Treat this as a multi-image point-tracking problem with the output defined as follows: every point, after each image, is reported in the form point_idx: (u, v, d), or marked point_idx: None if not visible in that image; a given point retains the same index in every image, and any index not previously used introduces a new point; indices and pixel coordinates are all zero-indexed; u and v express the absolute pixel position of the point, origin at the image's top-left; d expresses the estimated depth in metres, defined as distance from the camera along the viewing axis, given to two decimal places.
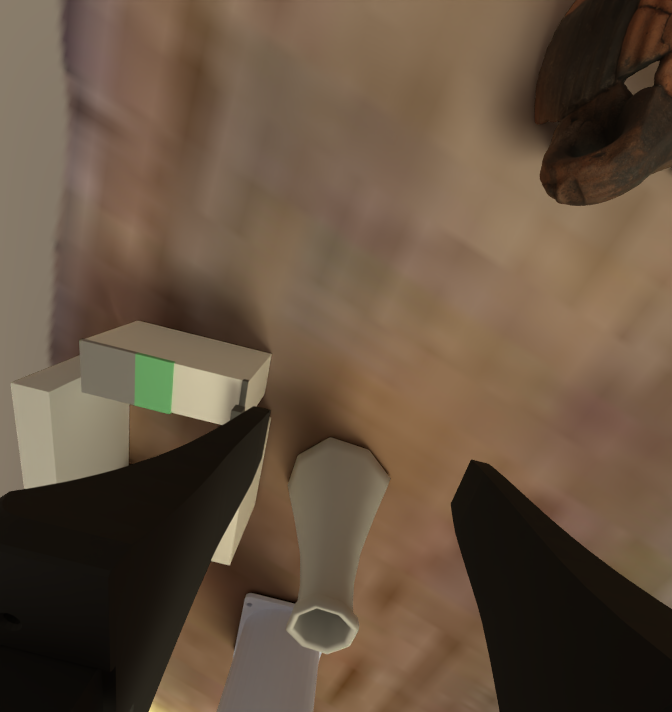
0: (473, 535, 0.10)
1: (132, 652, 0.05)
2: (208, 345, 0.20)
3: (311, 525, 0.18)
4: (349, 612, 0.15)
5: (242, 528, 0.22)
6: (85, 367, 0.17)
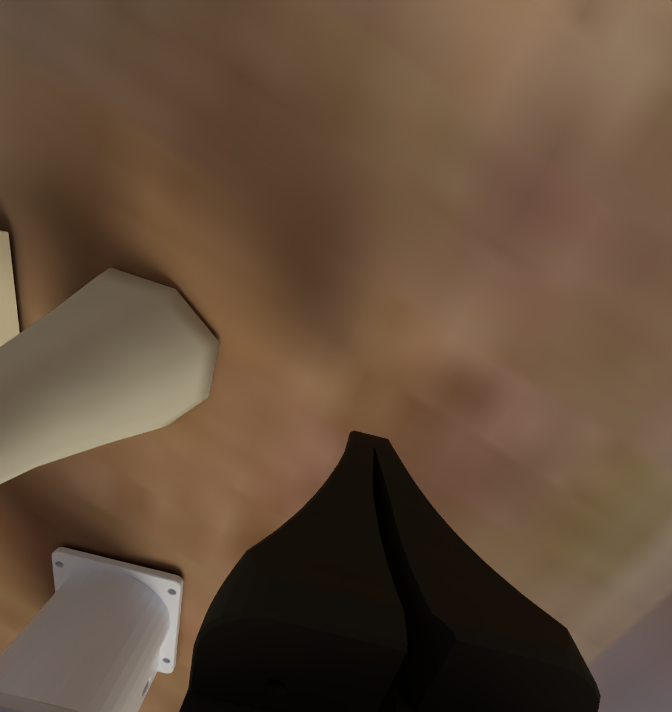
0: None
1: None
2: None
3: None
4: None
5: None
6: None
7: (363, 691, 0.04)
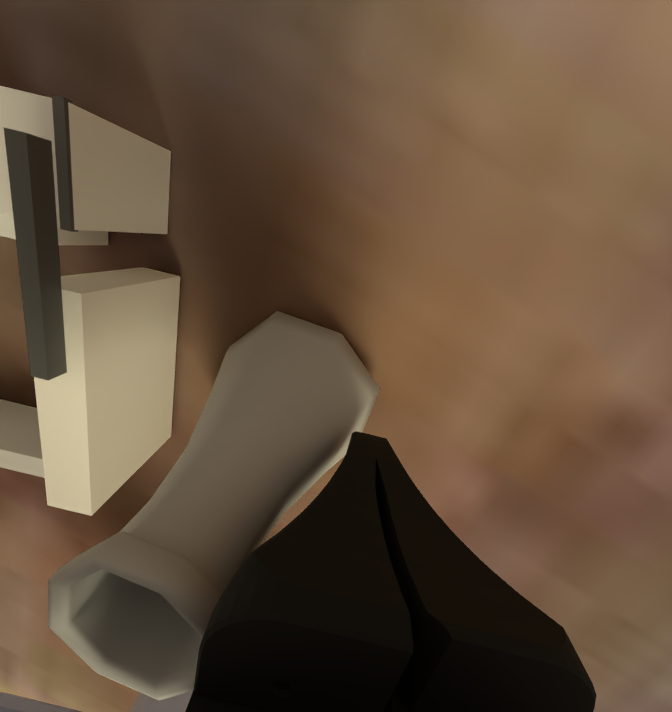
0: None
1: None
2: None
3: (203, 425, 0.09)
4: (197, 590, 0.05)
5: (128, 458, 0.13)
6: None
7: (369, 692, 0.04)
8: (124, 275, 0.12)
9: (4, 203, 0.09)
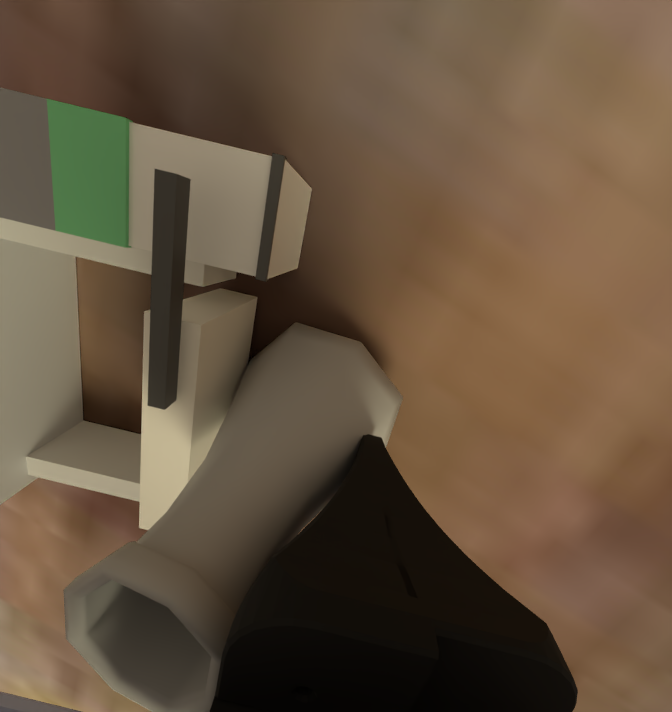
0: None
1: None
2: None
3: (221, 436, 0.09)
4: (206, 604, 0.05)
5: None
6: None
7: (392, 698, 0.04)
8: (214, 299, 0.12)
9: (199, 253, 0.09)
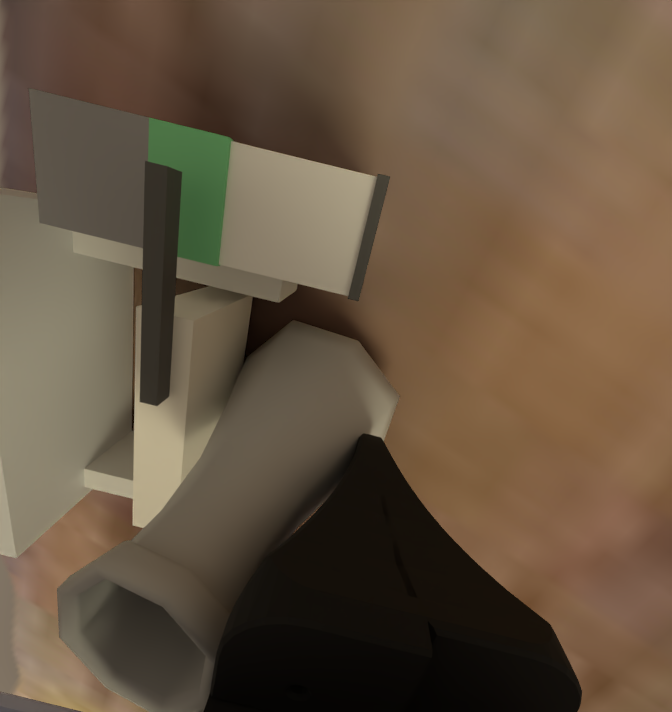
0: None
1: None
2: None
3: (217, 434, 0.09)
4: (201, 604, 0.05)
5: None
6: (44, 159, 0.08)
7: (387, 697, 0.04)
8: (209, 295, 0.12)
9: (290, 272, 0.09)
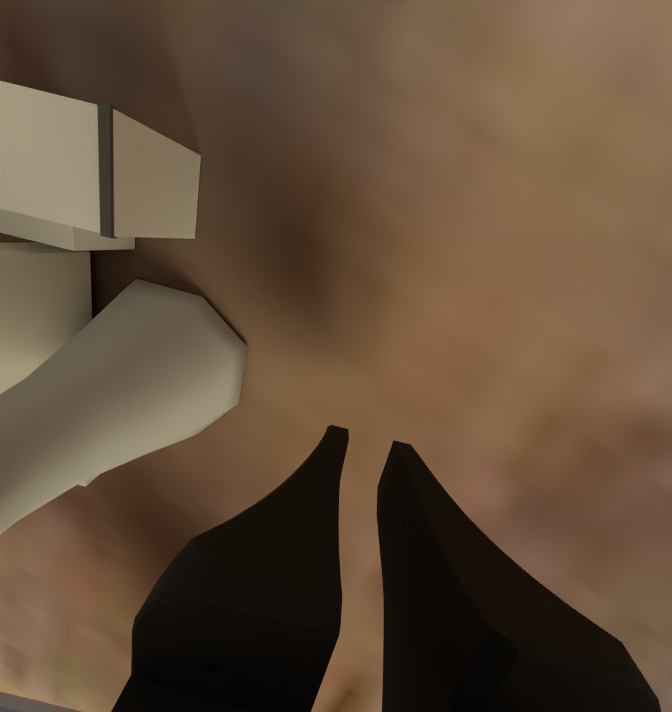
0: (386, 514, 0.10)
1: None
2: None
3: None
4: None
5: None
6: None
7: (300, 676, 0.04)
8: (18, 247, 0.11)
9: (43, 209, 0.09)
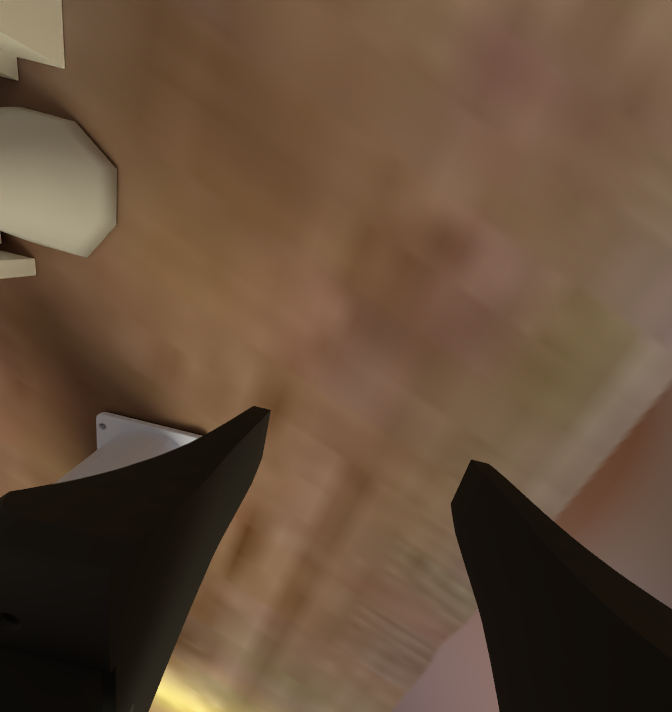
0: (473, 535, 0.10)
1: (132, 652, 0.05)
2: None
3: None
4: None
5: None
6: None
7: (88, 623, 0.04)
8: None
9: None
